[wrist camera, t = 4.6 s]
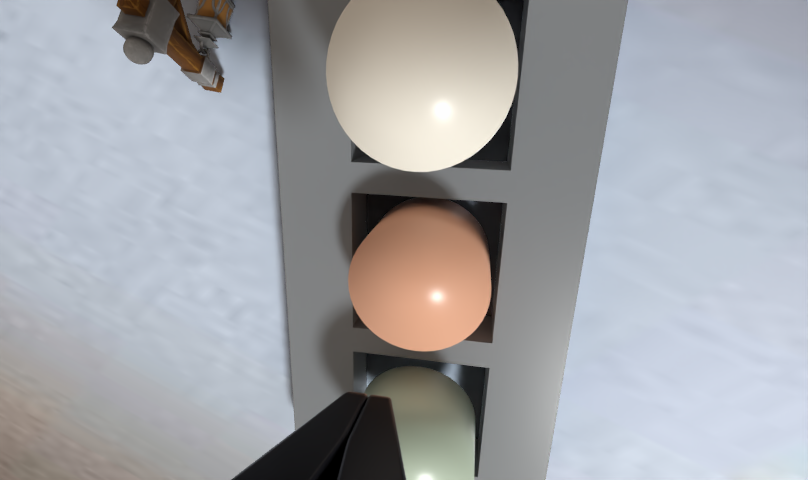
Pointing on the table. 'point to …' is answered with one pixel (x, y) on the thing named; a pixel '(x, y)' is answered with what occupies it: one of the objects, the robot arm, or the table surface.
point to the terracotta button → (422, 275)
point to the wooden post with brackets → (175, 34)
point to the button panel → (469, 180)
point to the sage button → (430, 422)
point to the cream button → (421, 78)
